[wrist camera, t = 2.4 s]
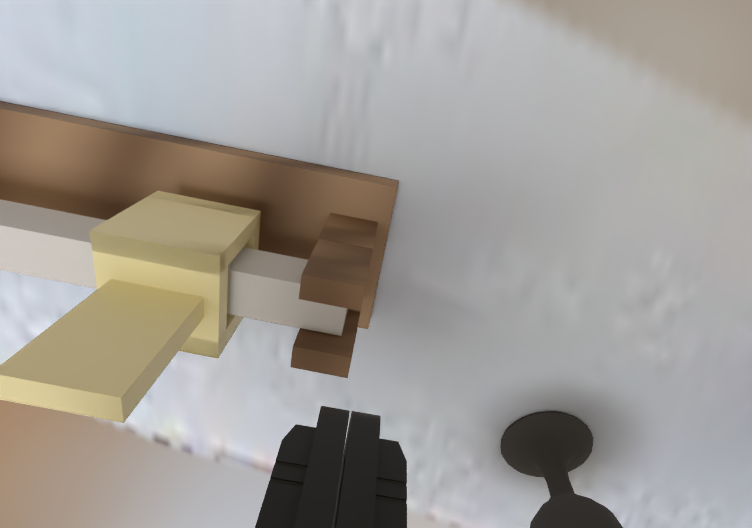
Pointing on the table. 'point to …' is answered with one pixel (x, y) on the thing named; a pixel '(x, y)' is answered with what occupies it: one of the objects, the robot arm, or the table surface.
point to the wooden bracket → (218, 184)
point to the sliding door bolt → (76, 266)
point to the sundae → (556, 468)
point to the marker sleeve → (138, 307)
